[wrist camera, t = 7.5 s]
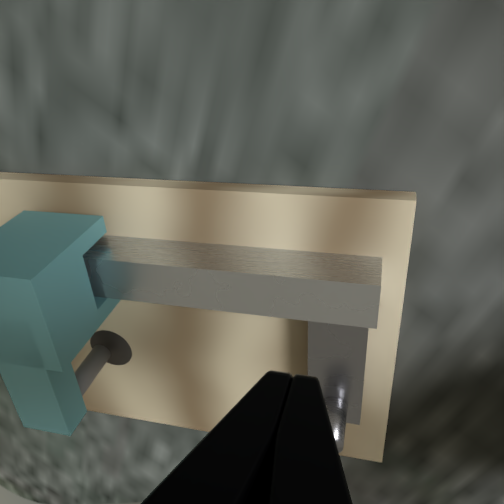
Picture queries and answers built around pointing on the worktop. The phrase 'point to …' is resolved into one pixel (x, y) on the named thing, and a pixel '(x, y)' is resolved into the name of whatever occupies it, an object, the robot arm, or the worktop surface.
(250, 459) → the robot arm
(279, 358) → the template board
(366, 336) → the fixed leg
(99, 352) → the sliding leg
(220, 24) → the worktop surface
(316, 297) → the rail
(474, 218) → the worktop surface
